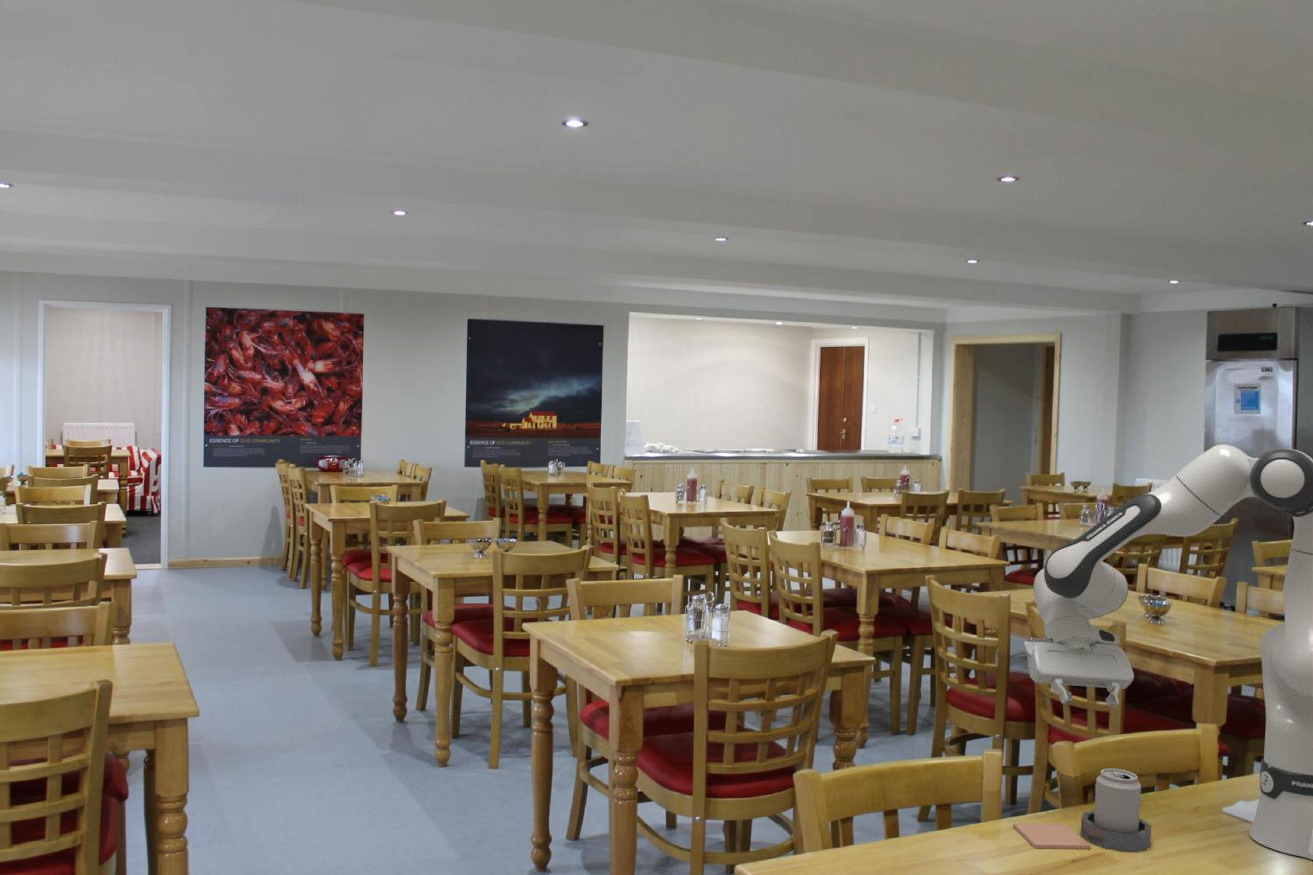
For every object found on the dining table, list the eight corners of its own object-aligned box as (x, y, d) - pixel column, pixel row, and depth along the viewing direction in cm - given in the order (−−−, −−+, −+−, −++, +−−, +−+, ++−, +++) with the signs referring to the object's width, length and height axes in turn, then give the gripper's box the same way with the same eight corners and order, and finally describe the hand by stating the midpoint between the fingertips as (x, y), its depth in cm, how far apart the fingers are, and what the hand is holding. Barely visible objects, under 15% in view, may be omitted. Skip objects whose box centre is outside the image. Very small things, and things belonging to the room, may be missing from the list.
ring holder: (1130, 826, 210) (1131, 810, 210) (1162, 851, 198) (1163, 834, 198) (1070, 825, 209) (1071, 809, 209) (1099, 850, 197) (1100, 833, 197)
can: (1142, 848, 199) (1145, 781, 199) (1097, 843, 200) (1100, 777, 200) (1133, 833, 206) (1136, 768, 206) (1089, 828, 208) (1093, 764, 207)
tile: (1065, 827, 208) (1065, 824, 208) (1090, 848, 198) (1090, 845, 198) (1012, 826, 207) (1013, 823, 207) (1035, 848, 197) (1035, 844, 197)
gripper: (1028, 628, 219) (1046, 692, 210) (1125, 635, 222) (1147, 698, 213) (1015, 645, 224) (1032, 708, 215) (1110, 652, 227) (1131, 714, 218)
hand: (1090, 703), depth 214 cm, fingers open, 8 cm apart
